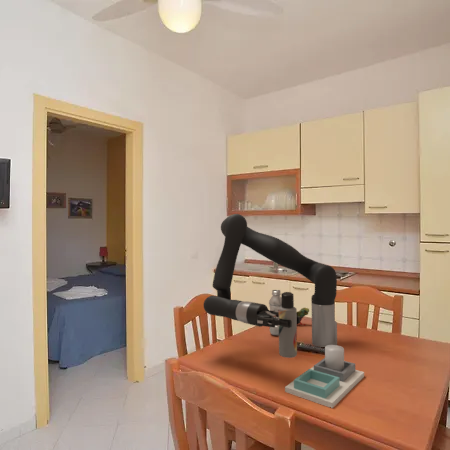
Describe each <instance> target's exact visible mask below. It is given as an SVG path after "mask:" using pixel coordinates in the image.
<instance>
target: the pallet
mask: <svg viewBox="0 0 450 450" xmlns="http://www.w3.org/2000/svg"><path fill="white" fill-rule="evenodd" d="M364 377H365V371H362V370H361V371H360V370H357V369H356V363H354V362H351V361H347V360H345V349H344V347H343V346H342V345H338V344H337V345H327V346H325V348H324V357H323V358H322V359H321V360H320V361H318V362H317V363H315V364H314V365H313V366H312V367H311V368H308V369H307V370H306V371H304V372H303V373H302V374H300V375H299V376H297V377H296V378H294V379H293V381H291V382H290V383H289V384H287V385H285V387H284V393H287V394H290V395H293V396H295V397H299V398H302V399H305V400H308V401H309V402H313V403H316V404H319V405H321V406H325V407H328V408H330V407H331V408H330V409H333V408H334V407H336V406H337V405H338V404H339V402H341V400H343V398H345V397H346V395H348V393H350V391H352V389H354V388H355V386H356V385H357V384H359V382H361V381H362V380H363V378H364Z"/></svg>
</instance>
